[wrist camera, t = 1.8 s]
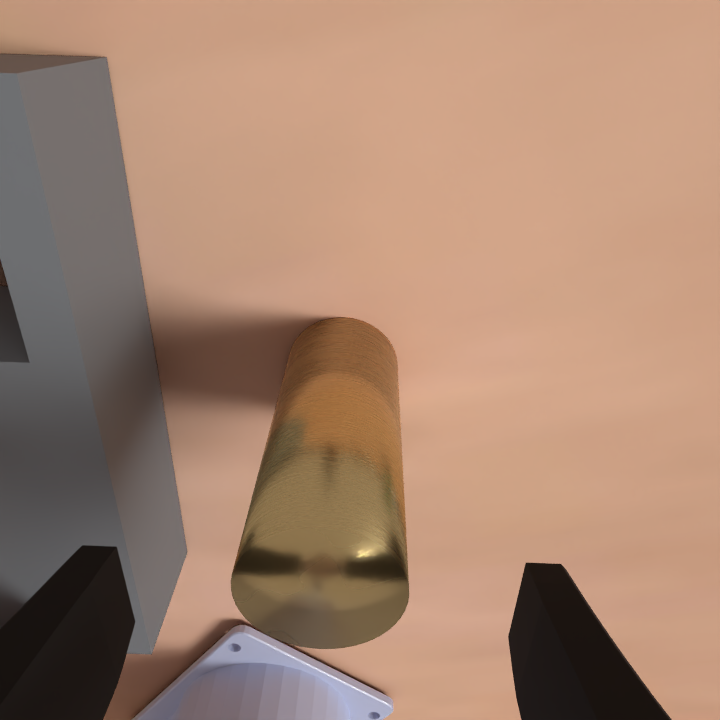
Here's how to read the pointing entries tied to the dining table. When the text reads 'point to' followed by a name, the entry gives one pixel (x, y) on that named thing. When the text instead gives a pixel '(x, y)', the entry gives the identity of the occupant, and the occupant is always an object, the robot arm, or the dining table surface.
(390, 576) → the brass pin
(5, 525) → the block
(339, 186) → the dining table surface
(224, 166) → the dining table surface
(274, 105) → the dining table surface
